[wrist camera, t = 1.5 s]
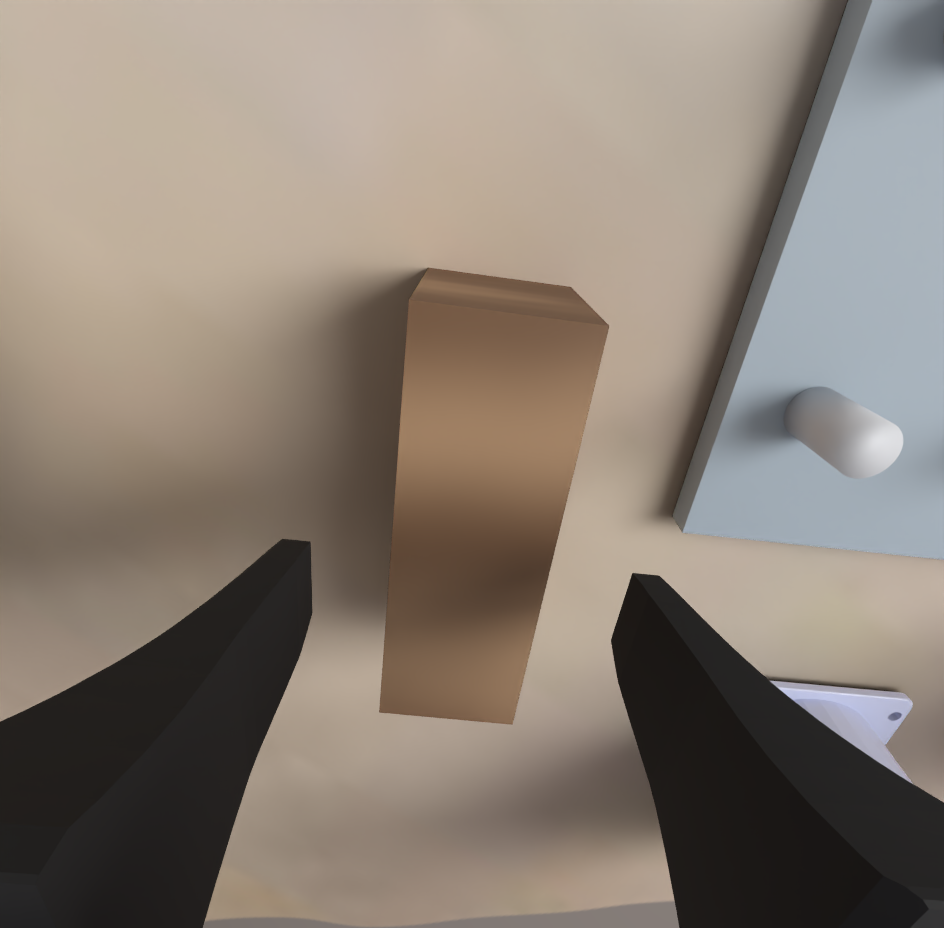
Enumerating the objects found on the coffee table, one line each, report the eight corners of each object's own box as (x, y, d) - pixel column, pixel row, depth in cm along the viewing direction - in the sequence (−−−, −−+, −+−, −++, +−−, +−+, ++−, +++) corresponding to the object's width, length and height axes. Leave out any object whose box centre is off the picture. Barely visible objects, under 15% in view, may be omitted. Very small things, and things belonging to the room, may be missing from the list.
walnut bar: (504, 608, 21) (512, 724, 16) (400, 598, 20) (379, 712, 16) (569, 286, 15) (609, 325, 11) (428, 267, 15) (408, 299, 10)
